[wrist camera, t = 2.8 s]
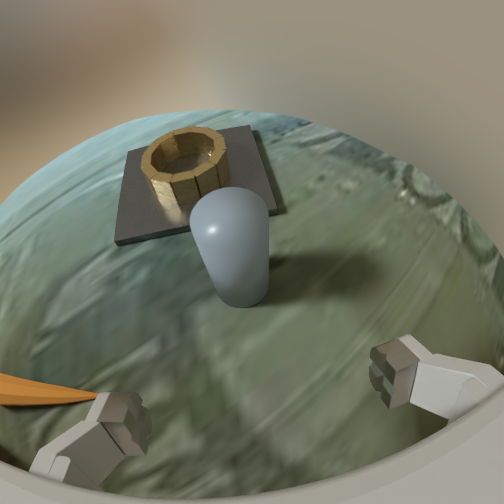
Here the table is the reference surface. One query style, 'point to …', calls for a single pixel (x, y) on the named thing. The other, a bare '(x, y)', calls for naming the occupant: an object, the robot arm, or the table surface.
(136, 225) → the mounting plate
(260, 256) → the grey capsule peg
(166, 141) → the brass socket
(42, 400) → the carrot
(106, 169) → the table surface
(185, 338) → the table surface
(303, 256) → the table surface
